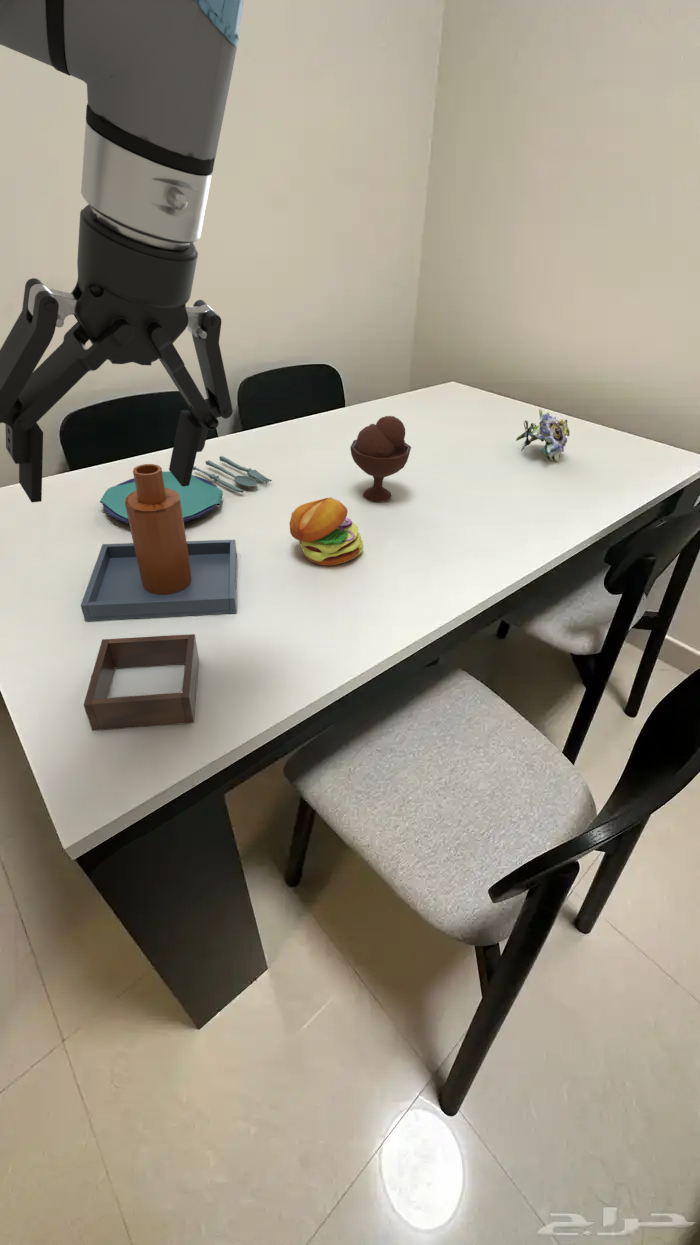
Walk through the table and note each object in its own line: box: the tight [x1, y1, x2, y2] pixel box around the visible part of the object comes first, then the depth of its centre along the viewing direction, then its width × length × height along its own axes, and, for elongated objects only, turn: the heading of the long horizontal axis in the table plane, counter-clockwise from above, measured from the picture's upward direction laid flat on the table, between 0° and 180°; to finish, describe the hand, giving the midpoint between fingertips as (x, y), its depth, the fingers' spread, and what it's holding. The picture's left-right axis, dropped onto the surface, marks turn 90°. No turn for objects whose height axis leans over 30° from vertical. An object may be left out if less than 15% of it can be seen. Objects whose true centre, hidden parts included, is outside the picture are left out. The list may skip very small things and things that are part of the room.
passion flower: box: [515, 409, 571, 463], centre depth 128 cm, size 11×11×12 cm
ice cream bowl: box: [349, 415, 412, 503], centre depth 105 cm, size 11×11×15 cm
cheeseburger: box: [289, 497, 364, 566], centre depth 90 cm, size 10×11×10 cm
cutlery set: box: [99, 455, 273, 524], centre depth 105 cm, size 20×30×2 cm, turn 139°
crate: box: [83, 633, 200, 731], centre depth 66 cm, size 11×11×4 cm
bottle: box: [125, 463, 192, 595], centre depth 78 cm, size 7×7×17 cm
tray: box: [80, 539, 238, 622], centre depth 83 cm, size 20×16×3 cm
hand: (110, 484), depth 53 cm, fingers open, 13 cm apart
